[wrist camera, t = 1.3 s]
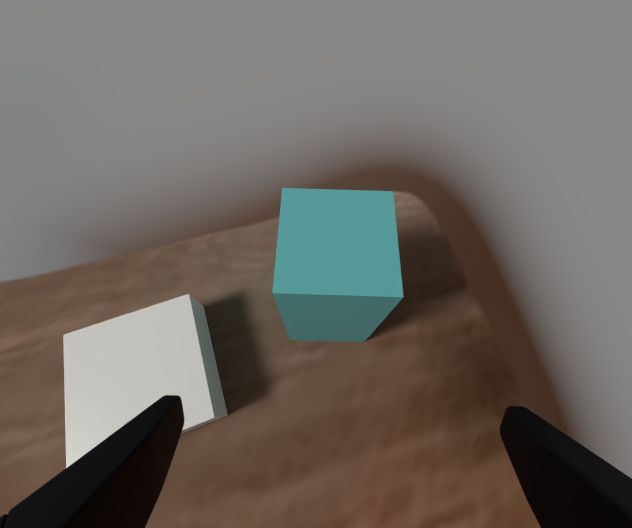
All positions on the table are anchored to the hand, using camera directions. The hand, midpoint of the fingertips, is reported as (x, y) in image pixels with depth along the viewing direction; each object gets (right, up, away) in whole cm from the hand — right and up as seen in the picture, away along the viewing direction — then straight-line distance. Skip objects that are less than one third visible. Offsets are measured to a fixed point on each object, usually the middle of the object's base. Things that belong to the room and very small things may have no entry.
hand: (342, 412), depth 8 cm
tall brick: (0, +1, +15) cm, 15 cm away
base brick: (-12, -4, +13) cm, 18 cm away
